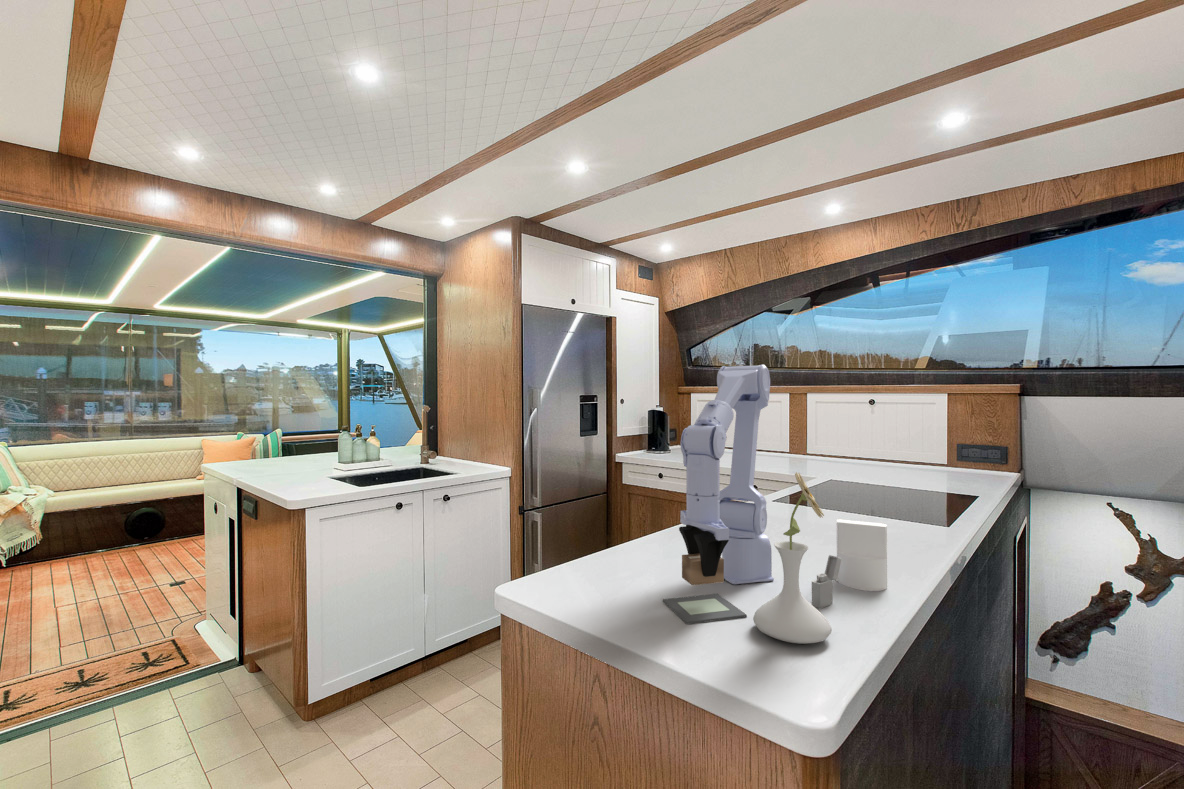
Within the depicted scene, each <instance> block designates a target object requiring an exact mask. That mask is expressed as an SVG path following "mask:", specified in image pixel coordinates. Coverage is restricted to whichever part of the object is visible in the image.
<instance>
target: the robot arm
mask: <svg viewBox="0 0 1184 789" xmlns="http://www.w3.org/2000/svg"><path fill="white" fill-rule="evenodd" d="M770 376H771V375H770V371H769V368H768V367H767V366H766V365H765V364H759V365H737V366H736V365H734V366H726V365H723V366H721V367H720V368H719V370H718V371H717V376H716V385H717V389H718V390H717V393H716V395H715V398H714V399H713V400H709V401H708V402H707V403H706V404H705V405H704V407H703V409H702V410H701V412H700V414H699V415H698V417H697V418H696V420H695V422H694V424H690V425H688V426H687V427H685V428H684V429H683V430H682V433H681V437H680V451H681V453H682V458H683V460H682V463H683V465H684V466H683V467H685V468H686V469H685V470H686V478H685V479H686V488H685V489H686V492H685V493H686V510H684V509H683V510H680V523H681V524H682V525H684V526H680V527H678V531H679V533H680V534H681V536H682V539H683V541H684V544H685V547H686V550H687V551H686V552H687V554H700V559H701V569H702V573H703V576H705V577H708V576H715V575H716V572H717V568H718V564H719V560H720V557H721V558H723V559H724V581H727V582H729V583H730V584H731V585H739V584H741V585H742V584H750V583H751V584H752V583H760V582H770V581H774V580H775V577H773V576H772V564H773V563H772V558H773V557H772V556H773V555H772V553H773V552H772V544H771V541H770V538H769V537H768V536H767V535H766V534H765V533H764V532H765V531H766V529H767V524H768V512H767V500H766V498H765V497H764V495H763V494H762V493H761V492H759V491H758V489H757V488H756V487H754V482H755V474H756V473H755V470H756V460H757V457H756V456H757V444H758V436H759V435H758V433H759V432H758V431H759V421H760V415H761V411H762V410H763V409H765V408H767V407H768V406H769V400H770V393H771V391H770V390H771V377H770ZM733 410H734V411H735V415H734V411H733ZM734 418H735V419H734ZM733 420H735V422H734V432H733V433H734V434H733V442H732V443H733V444H732V452H731V454H732V456H731V465H730V466H731V467H730V479H729V484H728V485H727V486H726V487H724V488H723V489H721V488H720V486H721V485H720V482H721V481H720V478H721V477H720V476H721V475H720V472H721V471H720V469H721V468H720V466H721V465H720V462H721V461H720V459H721V458H722V457H723V456H724V453H725V449H726V442H727V432H728V430H729V429H730V426H731V424H732V422H733Z"/></svg>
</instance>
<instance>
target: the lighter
mask: <svg viewBox="0 0 1184 789" xmlns="http://www.w3.org/2000/svg"><path fill="white" fill-rule="evenodd" d="M840 564H841V559H840V558H838V557H837V556H835V555H831V554H829V555H828V558H827V562H826V566H825V571H824V573H819V574H816V579H813V580H811V605H812V606H814V607H815V608H816V609H817V608H818V609H820V610H821V609H823V608H825V607H828V606H830V605H833V597H834V596H833V593H834V592H833V582H838V581H837V577H838V573H839V568H840Z"/></svg>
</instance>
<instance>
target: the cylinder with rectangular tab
mask: <svg viewBox="0 0 1184 789" xmlns="http://www.w3.org/2000/svg"><path fill="white" fill-rule="evenodd" d="M836 557H838V558H840V559H841V564H840V568H839V573H838V577H837V581H836V582H838V583H839V584H840V585H843V586H845V587H847V588H851V589H855V590H861V591H867V592H879V591H885V590H886V589H888V525H887V524H886V523H884V522H883V523H880V522H870V521H862V520H849V519H840V518H837V519H836Z"/></svg>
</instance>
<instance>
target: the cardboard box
mask: <svg viewBox="0 0 1184 789" xmlns="http://www.w3.org/2000/svg"><path fill="white" fill-rule="evenodd" d="M681 578H682V579H683V580H684V581H685V582H687V583H688V584H690V585H691V586H698V585H709V584H710V585H711V584H717V583H718V584H721V583H724V581H725V579H724V559H723V558H722V556H721V557H720V560H719V564H718V568H717V572H716V575H715V576H708V577H705V576H703V573H702V569H701V559H700V554H688V553H687V554H681Z"/></svg>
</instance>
